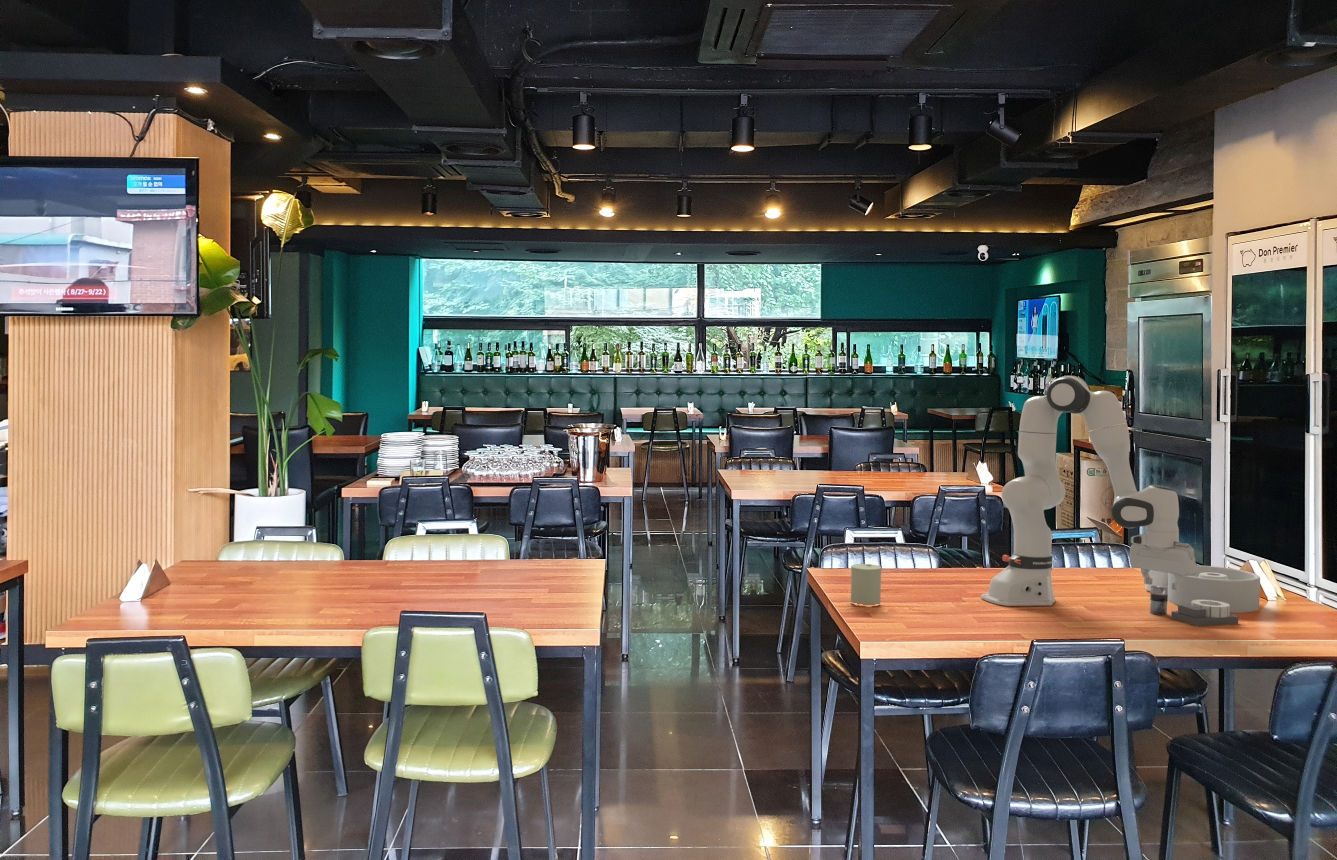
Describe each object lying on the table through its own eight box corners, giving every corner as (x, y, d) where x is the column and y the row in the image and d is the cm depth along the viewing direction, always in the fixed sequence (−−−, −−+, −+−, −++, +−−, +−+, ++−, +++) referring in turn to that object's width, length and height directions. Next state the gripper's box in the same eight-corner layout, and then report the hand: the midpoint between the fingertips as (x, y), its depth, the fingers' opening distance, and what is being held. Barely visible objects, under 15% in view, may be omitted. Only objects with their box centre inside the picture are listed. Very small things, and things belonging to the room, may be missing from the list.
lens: (1157, 615, 293) (1158, 588, 292) (1146, 612, 297) (1147, 585, 297) (1170, 614, 294) (1171, 587, 294) (1159, 611, 298) (1159, 584, 298)
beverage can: (1175, 594, 323) (1177, 558, 322) (1148, 593, 324) (1150, 557, 324) (1168, 589, 330) (1169, 554, 330) (1142, 588, 332) (1143, 552, 332)
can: (883, 602, 307) (884, 564, 307) (877, 608, 299) (877, 568, 298) (854, 599, 311) (855, 561, 311) (846, 605, 303) (847, 566, 302)
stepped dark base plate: (1198, 626, 280) (1198, 608, 280) (1171, 618, 290) (1171, 601, 289) (1238, 623, 284) (1238, 606, 284) (1210, 615, 294) (1210, 598, 293)
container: (1267, 616, 294) (1268, 583, 294) (1172, 609, 303) (1174, 576, 302) (1250, 599, 317) (1251, 568, 317) (1163, 593, 326) (1164, 563, 326)
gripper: (1201, 543, 286) (1201, 591, 287) (1140, 535, 305) (1140, 580, 305) (1186, 545, 284) (1185, 593, 284) (1126, 536, 302) (1125, 582, 303)
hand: (1162, 586), depth 295 cm, fingers open, 8 cm apart
